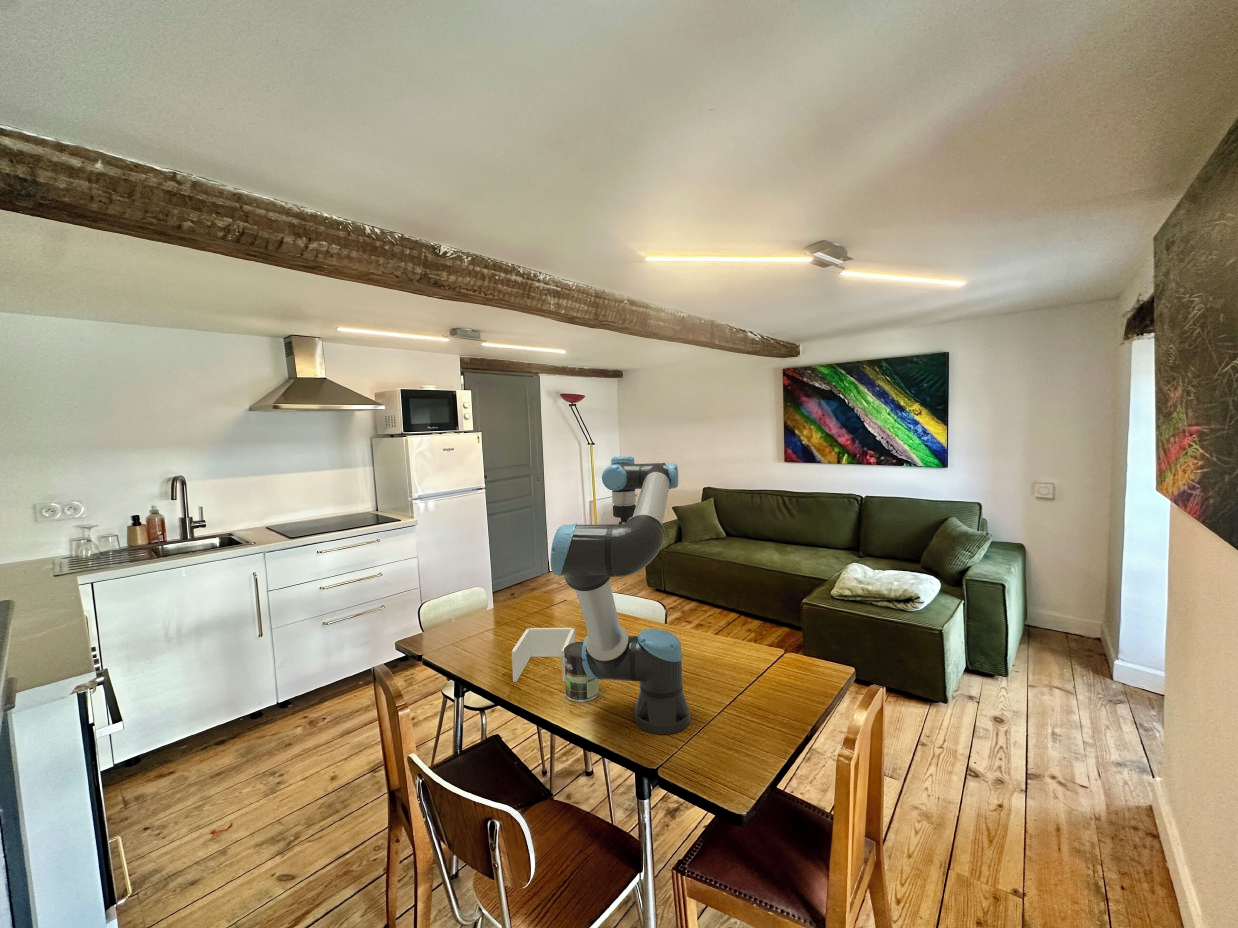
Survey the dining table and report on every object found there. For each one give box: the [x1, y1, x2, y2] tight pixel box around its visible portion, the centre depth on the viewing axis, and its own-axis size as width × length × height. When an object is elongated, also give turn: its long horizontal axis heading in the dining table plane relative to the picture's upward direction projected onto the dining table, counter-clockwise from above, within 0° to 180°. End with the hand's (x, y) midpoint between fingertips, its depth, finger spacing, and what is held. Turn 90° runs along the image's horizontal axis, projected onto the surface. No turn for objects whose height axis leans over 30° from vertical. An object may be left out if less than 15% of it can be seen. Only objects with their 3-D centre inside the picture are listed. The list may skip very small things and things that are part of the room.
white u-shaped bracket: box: [511, 627, 576, 683], centre depth 166 cm, size 19×17×10 cm
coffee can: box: [564, 641, 600, 703], centre depth 148 cm, size 10×10×14 cm
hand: (626, 569), depth 157 cm, fingers open, 13 cm apart
